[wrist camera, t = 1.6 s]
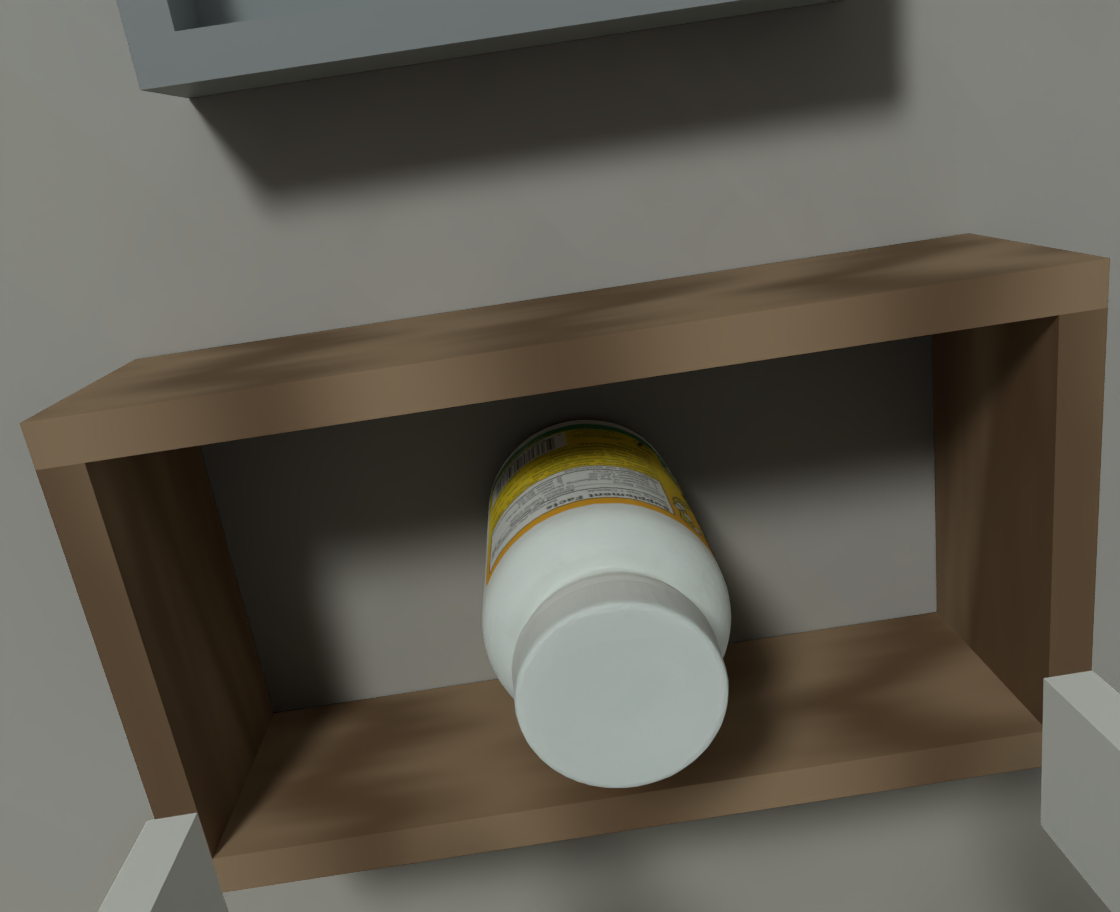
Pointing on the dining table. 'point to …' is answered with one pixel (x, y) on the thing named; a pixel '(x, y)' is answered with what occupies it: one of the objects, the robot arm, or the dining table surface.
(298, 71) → the slate tray
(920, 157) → the dining table surface
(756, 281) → the walnut box
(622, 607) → the supplement bottle
